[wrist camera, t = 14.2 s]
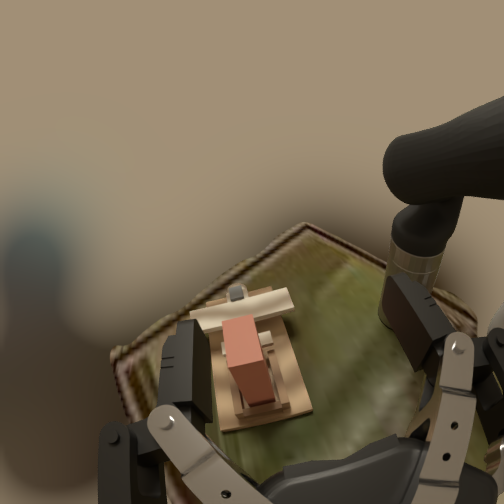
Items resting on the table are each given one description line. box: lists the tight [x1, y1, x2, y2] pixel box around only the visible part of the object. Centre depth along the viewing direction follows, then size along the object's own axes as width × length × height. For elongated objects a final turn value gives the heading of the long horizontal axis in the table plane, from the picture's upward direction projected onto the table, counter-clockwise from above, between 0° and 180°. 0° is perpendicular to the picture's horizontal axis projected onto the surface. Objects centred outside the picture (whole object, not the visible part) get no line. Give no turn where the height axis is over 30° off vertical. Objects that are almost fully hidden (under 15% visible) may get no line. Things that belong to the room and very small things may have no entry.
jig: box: [190, 283, 313, 432], centre depth 45 cm, size 28×18×7 cm, turn 10°
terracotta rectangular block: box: [222, 314, 276, 408], centre depth 36 cm, size 7×4×14 cm, turn 9°
